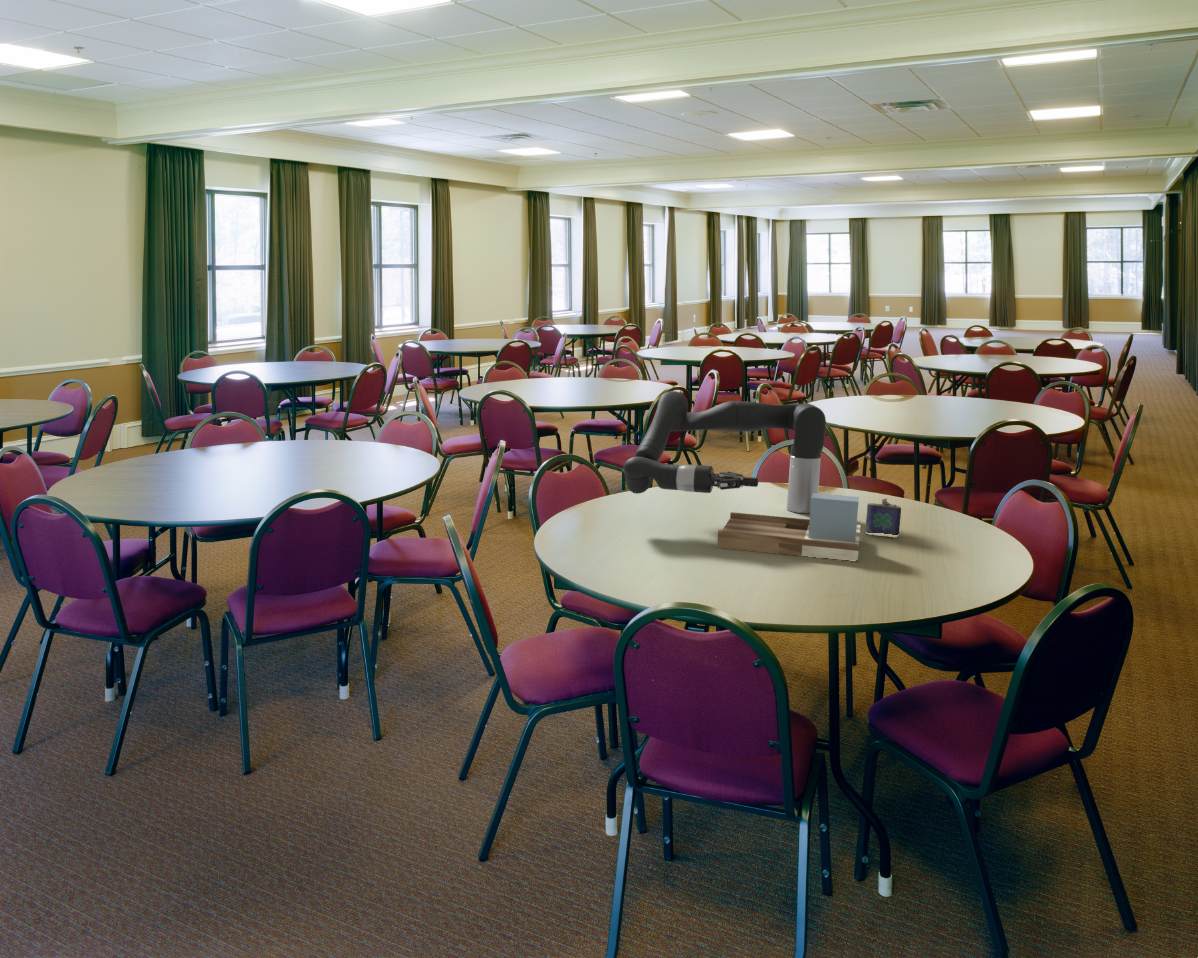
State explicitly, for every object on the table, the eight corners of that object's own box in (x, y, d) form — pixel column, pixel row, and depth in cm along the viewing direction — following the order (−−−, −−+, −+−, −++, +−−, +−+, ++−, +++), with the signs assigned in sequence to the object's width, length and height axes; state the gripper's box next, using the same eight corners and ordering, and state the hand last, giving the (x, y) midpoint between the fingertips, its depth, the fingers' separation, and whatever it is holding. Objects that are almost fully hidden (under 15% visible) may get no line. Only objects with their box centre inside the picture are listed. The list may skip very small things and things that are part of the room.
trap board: (730, 527, 257) (730, 512, 256) (859, 539, 247) (860, 524, 246) (717, 547, 236) (718, 531, 235) (857, 562, 226) (859, 545, 225)
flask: (864, 534, 252) (867, 498, 250) (865, 532, 255) (869, 496, 253) (898, 539, 249) (901, 502, 246) (899, 536, 251) (903, 499, 249)
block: (809, 532, 242) (812, 492, 240) (855, 536, 239) (858, 496, 236) (808, 537, 237) (811, 497, 234) (854, 542, 233) (858, 501, 231)
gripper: (690, 469, 239) (755, 473, 234) (699, 460, 251) (761, 464, 246) (690, 497, 240) (754, 501, 236) (699, 486, 253) (760, 490, 248)
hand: (757, 482), depth 241 cm, fingers closed
